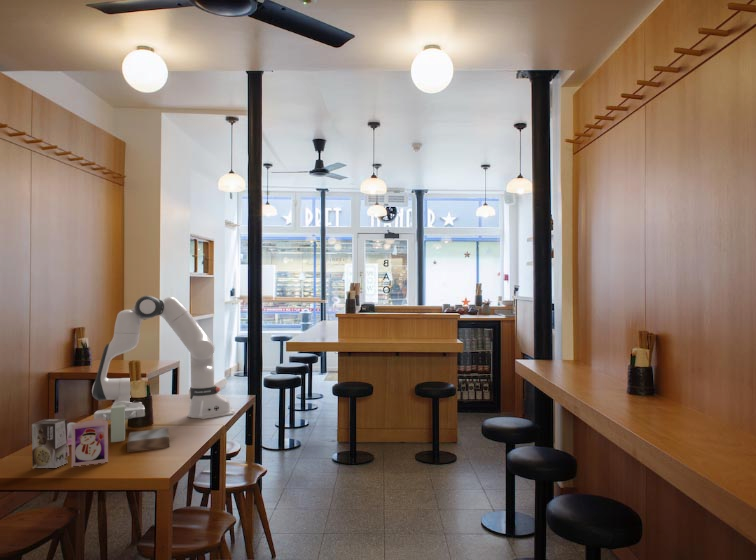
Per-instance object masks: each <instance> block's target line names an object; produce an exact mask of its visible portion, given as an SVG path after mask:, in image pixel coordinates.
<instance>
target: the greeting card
mask: <svg viewBox="0 0 756 560" xmlns="http://www.w3.org/2000/svg"><path fill="white" fill-rule="evenodd" d="M105 462H108V463H109V420H107V421H103V418H100V419H95V420H94V419H91V420H87V421H83V422H78V423H76V424H73V425H72V444H71V468H74V467H73V466H79V467H82V466H81V465H86V466H90V465H89V464H94V465H99V464H98V463H101V464H106V463H105Z"/></svg>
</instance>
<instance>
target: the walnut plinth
mask: <svg viewBox="0 0 756 560" xmlns="http://www.w3.org/2000/svg"><path fill="white" fill-rule="evenodd" d="M169 430H170V429H169V428H167V427H166V428H165V427H164V428H157V429H149V430H140V431H130V432H129V433H128V437H127V445H126V447H127V448H126V449H127V451H126V452H127V453H132V452H139V451H147V450H156V449H161V448H163V449H164V448H170V431H169Z"/></svg>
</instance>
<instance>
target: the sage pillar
mask: <svg viewBox="0 0 756 560" xmlns="http://www.w3.org/2000/svg"><path fill="white" fill-rule="evenodd" d="M110 409H111V420H110V443H117V442H118V443H119V442H124V441H125V440H126V420H125V405H116V406H112V405H111V407H110Z"/></svg>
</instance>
